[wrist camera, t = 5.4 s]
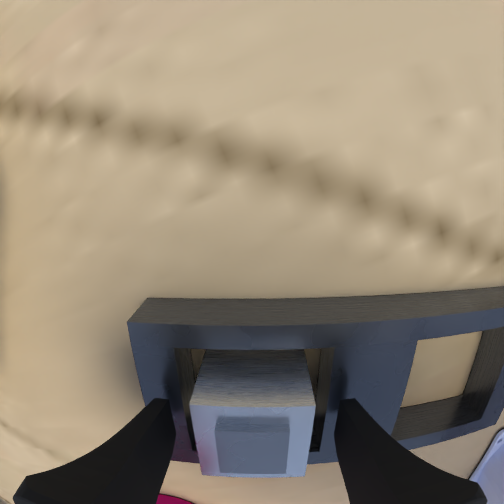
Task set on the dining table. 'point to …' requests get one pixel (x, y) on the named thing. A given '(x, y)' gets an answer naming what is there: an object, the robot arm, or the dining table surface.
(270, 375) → the grey metal block
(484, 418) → the blue-grey frame board
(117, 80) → the dining table surface
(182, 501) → the pepper mill
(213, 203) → the dining table surface
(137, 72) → the dining table surface
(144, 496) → the robot arm
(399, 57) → the dining table surface
